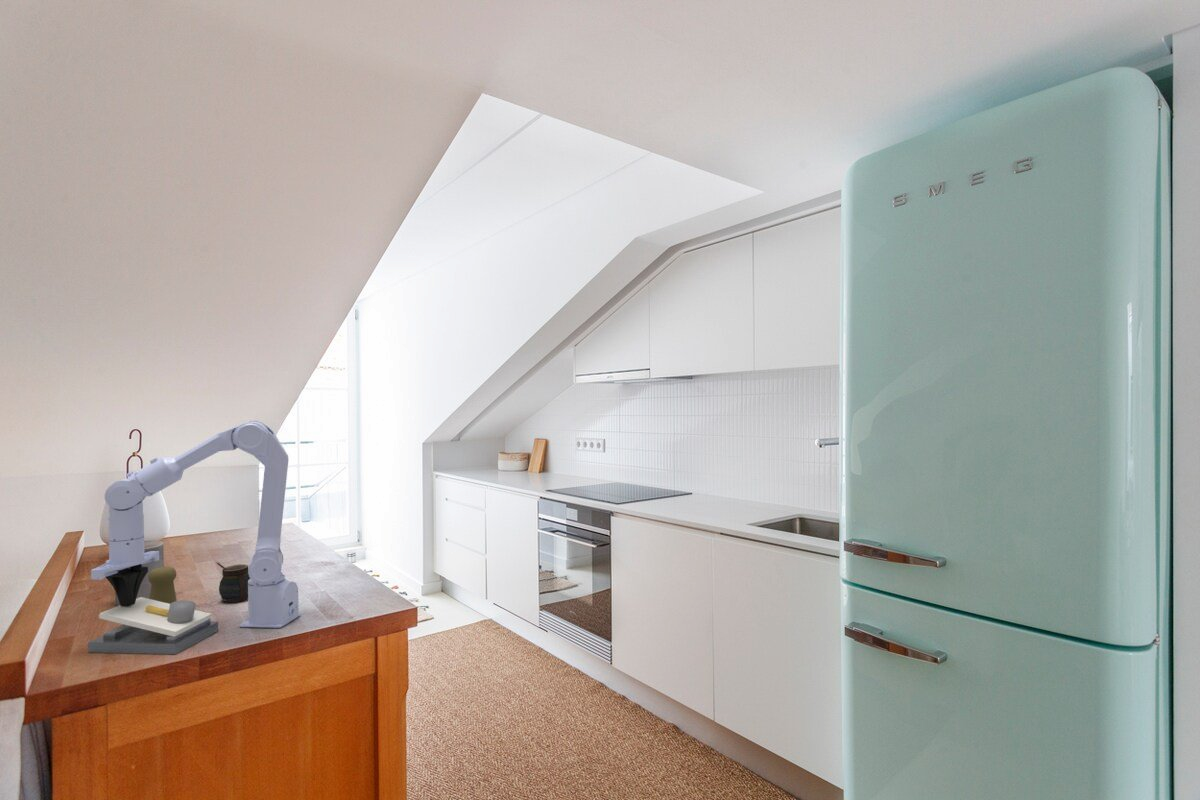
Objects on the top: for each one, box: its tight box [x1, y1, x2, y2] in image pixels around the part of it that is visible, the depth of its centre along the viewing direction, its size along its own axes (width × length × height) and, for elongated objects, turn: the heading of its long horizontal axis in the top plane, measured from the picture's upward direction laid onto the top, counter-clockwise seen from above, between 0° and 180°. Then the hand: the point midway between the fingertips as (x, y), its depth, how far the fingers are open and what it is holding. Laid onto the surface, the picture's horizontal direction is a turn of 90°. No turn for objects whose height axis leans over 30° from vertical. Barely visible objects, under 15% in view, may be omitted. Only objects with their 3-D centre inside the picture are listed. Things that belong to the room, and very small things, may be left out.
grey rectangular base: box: [87, 618, 219, 655], centre depth 127 cm, size 18×12×3 cm, turn 85°
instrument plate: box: [98, 597, 212, 637], centre depth 127 cm, size 16×10×4 cm, turn 86°
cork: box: [148, 566, 178, 604], centre depth 142 cm, size 6×6×11 cm
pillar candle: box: [114, 540, 165, 607], centre depth 153 cm, size 10×10×15 cm
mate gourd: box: [216, 562, 250, 603], centre depth 153 cm, size 7×8×10 cm
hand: (127, 605), depth 128 cm, fingers closed
